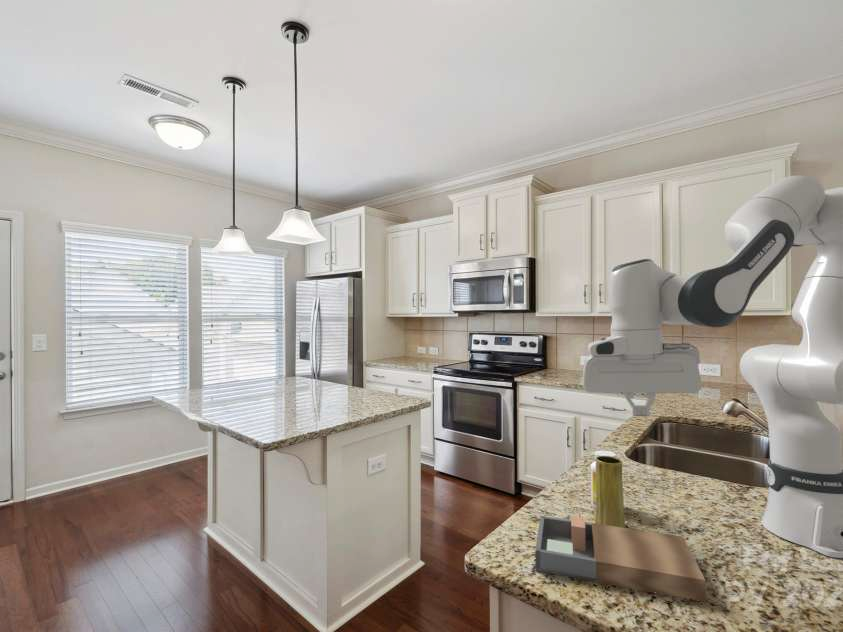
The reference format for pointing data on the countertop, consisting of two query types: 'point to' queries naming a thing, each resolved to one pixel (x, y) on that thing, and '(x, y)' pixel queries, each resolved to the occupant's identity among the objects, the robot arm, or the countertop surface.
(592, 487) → the supplement bottle
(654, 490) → the countertop surface
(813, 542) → the robot arm
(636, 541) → the board
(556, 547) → the tile sage
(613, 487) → the vase
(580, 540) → the tile terracotta
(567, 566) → the tray
